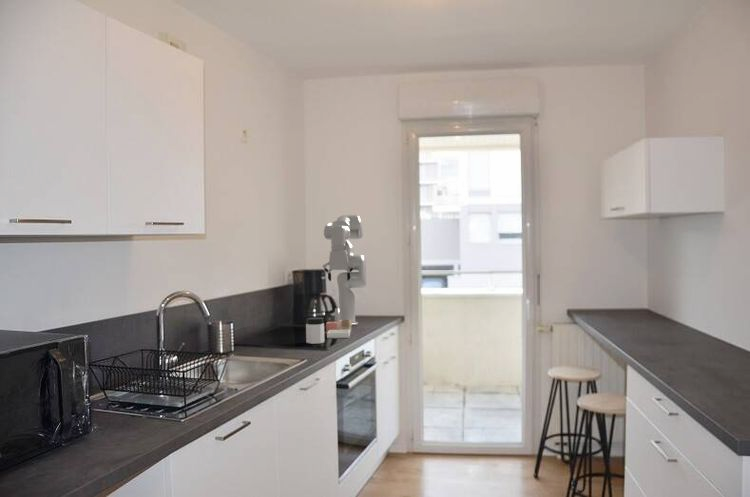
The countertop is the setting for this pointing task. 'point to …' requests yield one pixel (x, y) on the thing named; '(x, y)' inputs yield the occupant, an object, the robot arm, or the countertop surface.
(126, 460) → the countertop surface
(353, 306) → the robot arm
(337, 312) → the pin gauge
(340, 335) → the tray
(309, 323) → the jar
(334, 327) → the red block small bore
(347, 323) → the beech block wide bore
